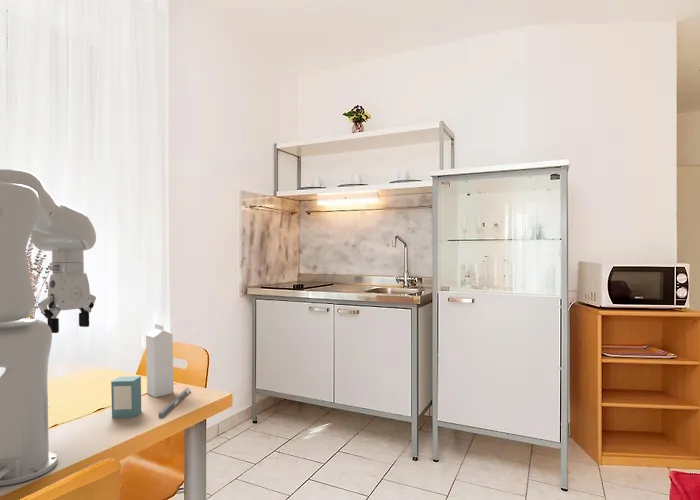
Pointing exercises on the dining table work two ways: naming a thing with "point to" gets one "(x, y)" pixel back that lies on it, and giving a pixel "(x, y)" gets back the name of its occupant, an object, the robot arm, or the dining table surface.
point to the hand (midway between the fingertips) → (69, 329)
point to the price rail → (173, 402)
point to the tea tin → (126, 397)
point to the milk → (159, 362)
